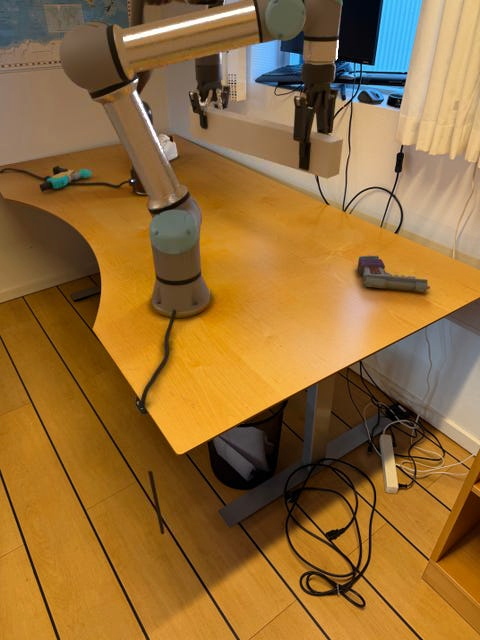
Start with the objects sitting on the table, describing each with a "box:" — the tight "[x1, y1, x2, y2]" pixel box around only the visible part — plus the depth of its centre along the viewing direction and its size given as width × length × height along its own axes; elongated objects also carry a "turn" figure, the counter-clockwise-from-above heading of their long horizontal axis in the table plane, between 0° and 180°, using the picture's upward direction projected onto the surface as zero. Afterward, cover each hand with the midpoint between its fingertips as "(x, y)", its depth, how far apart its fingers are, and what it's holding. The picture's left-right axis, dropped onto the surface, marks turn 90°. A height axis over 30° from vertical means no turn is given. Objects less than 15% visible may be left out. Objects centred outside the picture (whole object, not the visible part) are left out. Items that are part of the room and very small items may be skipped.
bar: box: [188, 106, 344, 180], centre depth 129 cm, size 52×5×8 cm, turn 44°
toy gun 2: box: [356, 254, 431, 293], centre depth 132 cm, size 4×19×15 cm
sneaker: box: [157, 133, 179, 162], centre depth 214 cm, size 10×29×12 cm, turn 163°
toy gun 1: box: [39, 165, 92, 193], centre depth 197 cm, size 4×26×15 cm
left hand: (211, 126), depth 140 cm, fingers closed on bar, 4 cm apart
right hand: (310, 166), depth 119 cm, fingers closed on bar, 5 cm apart
